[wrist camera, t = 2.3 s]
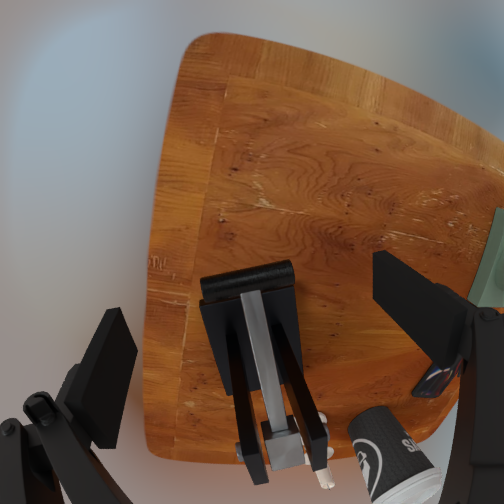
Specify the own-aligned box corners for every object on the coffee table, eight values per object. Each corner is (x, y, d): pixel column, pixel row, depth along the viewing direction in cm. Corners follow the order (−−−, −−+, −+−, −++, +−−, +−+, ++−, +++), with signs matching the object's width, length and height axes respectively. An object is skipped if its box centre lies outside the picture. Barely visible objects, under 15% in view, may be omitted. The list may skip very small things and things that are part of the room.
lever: (201, 275, 18) (198, 279, 16) (285, 258, 18) (293, 259, 16) (248, 455, 18) (250, 475, 16) (317, 439, 19) (326, 457, 16)
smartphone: (410, 397, 35) (473, 306, 31) (408, 394, 36) (469, 303, 32) (438, 398, 37) (494, 316, 33) (436, 395, 38) (491, 314, 34)
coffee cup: (371, 442, 39) (408, 514, 25) (324, 440, 36) (359, 527, 22) (410, 400, 37) (460, 474, 23) (365, 394, 34) (418, 486, 20)
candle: (279, 434, 34) (298, 501, 25) (296, 409, 33) (321, 480, 23) (314, 436, 36) (337, 497, 26) (333, 411, 34) (362, 476, 25)
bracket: (199, 299, 26) (199, 429, 13) (290, 280, 27) (355, 392, 14) (226, 388, 30) (241, 504, 17) (301, 371, 31) (345, 479, 18)
